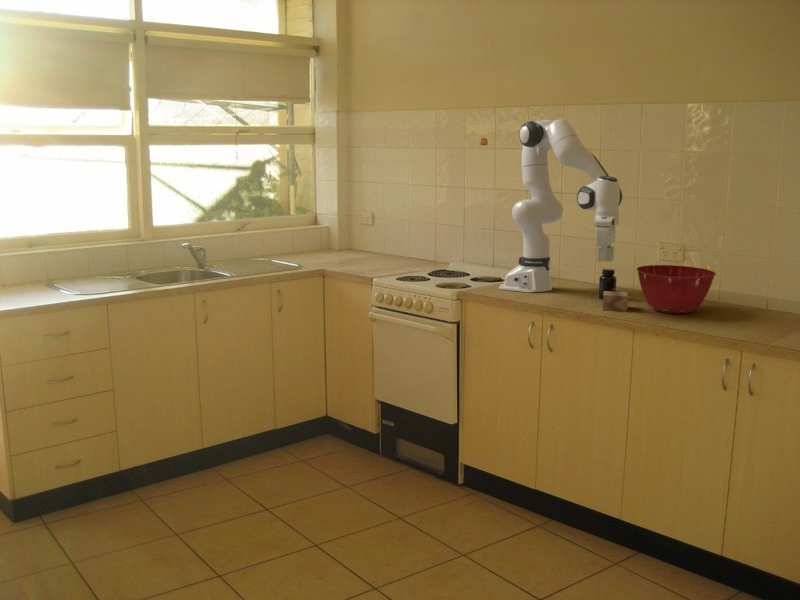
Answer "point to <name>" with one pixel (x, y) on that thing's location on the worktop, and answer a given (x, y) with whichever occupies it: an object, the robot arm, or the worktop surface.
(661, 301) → the mixing bowl
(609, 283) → the supplement bottle
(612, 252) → the sage block
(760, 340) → the worktop surface
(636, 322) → the worktop surface
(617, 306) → the pinkish brown block
